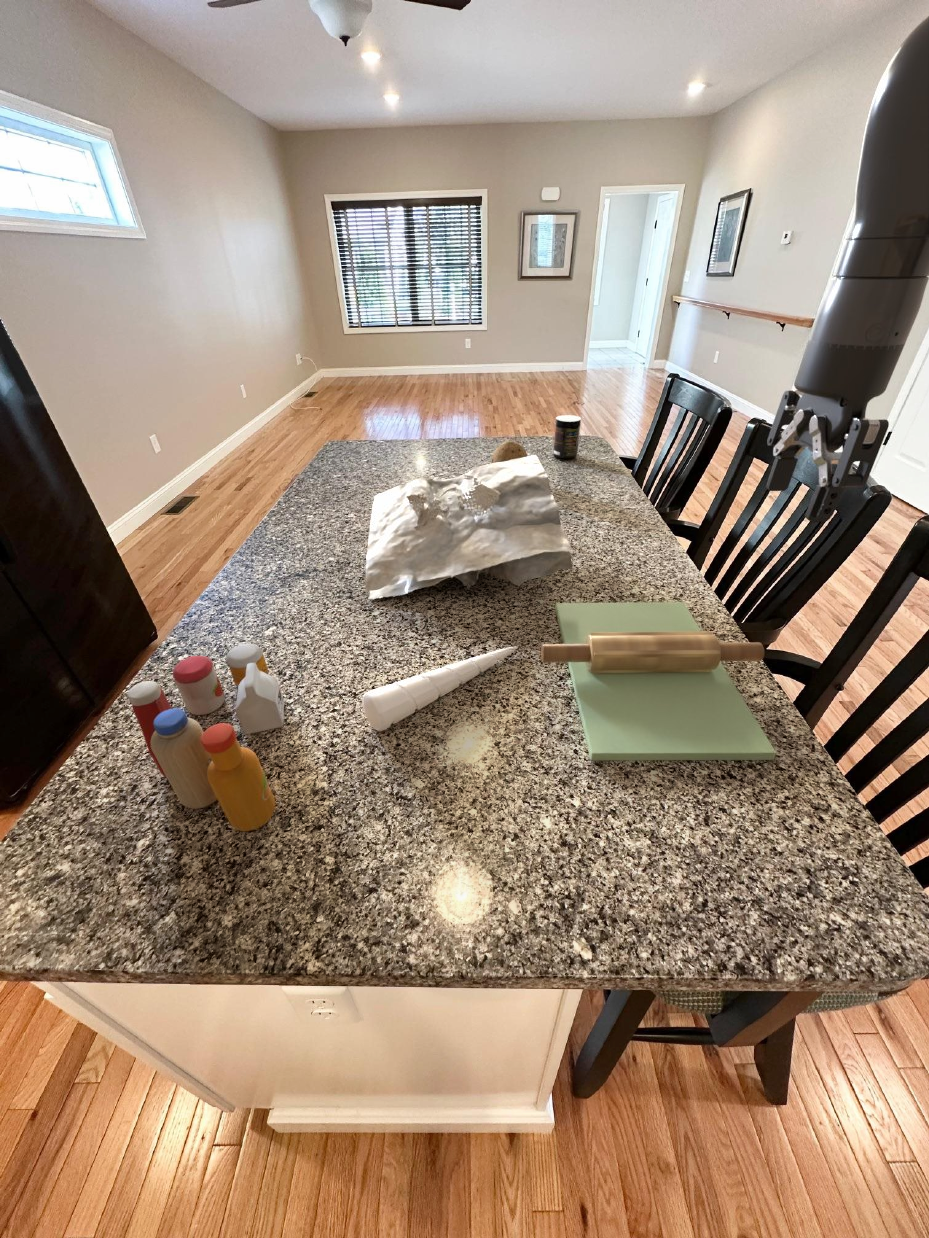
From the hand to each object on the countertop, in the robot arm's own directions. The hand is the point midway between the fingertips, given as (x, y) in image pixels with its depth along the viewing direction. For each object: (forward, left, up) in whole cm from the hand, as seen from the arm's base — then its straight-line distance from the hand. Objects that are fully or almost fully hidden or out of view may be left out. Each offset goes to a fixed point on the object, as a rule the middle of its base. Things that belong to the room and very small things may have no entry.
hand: (794, 504), depth 56 cm
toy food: (+25, +61, -23) cm, 70 cm away
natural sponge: (+74, -17, -23) cm, 79 cm away
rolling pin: (+6, +11, -22) cm, 25 cm away
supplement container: (+80, -41, -23) cm, 93 cm away
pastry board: (+6, +11, -23) cm, 26 cm away
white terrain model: (+48, +13, -23) cm, 55 cm away
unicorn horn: (+18, +35, -23) cm, 46 cm away
